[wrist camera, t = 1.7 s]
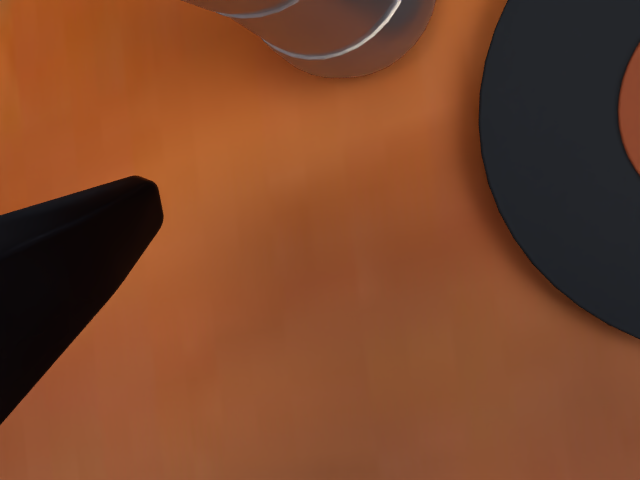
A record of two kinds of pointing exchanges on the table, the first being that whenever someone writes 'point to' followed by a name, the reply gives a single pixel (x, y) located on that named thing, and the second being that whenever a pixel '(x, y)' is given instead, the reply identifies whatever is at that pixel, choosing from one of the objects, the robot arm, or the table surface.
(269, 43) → the plastic bottle
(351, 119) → the table surface
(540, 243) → the ring
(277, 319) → the table surface
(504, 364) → the table surface
